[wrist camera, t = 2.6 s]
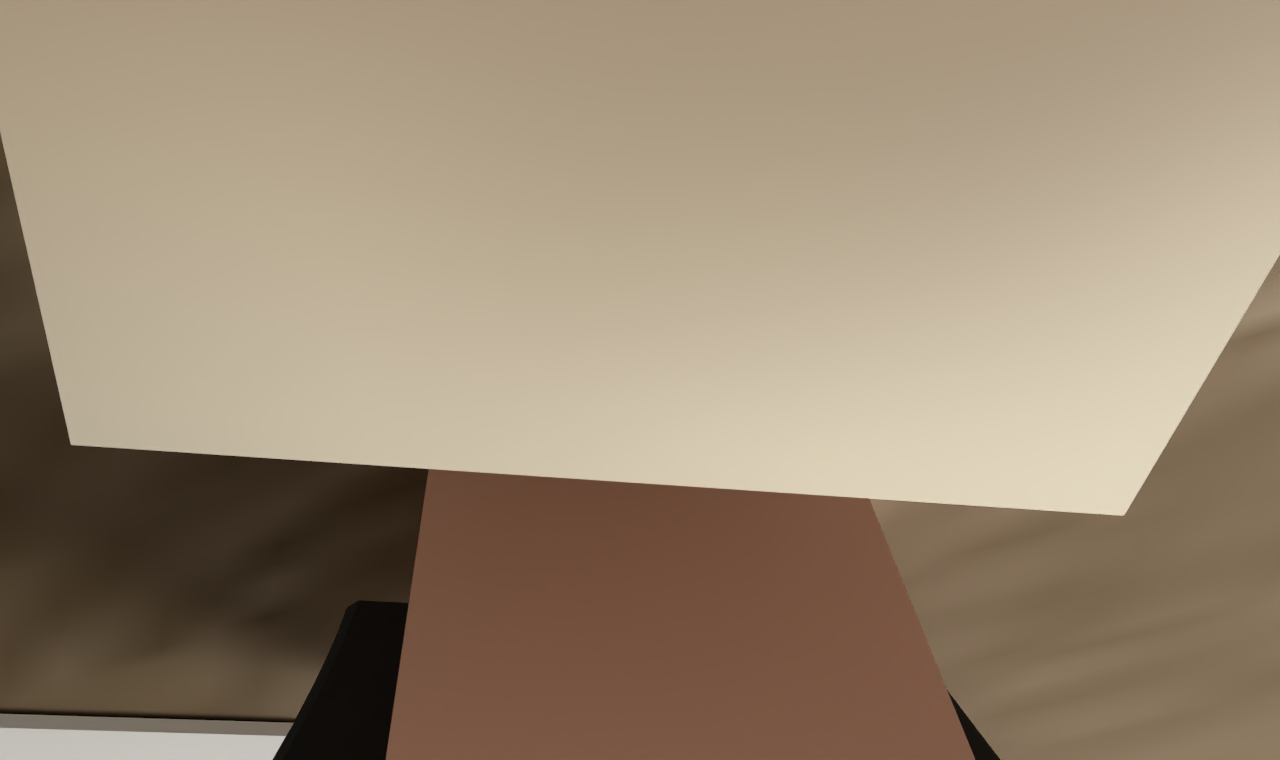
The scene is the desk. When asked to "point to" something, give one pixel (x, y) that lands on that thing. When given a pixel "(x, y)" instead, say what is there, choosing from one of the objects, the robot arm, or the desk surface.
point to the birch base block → (650, 233)
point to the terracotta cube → (660, 628)
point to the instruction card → (136, 738)
